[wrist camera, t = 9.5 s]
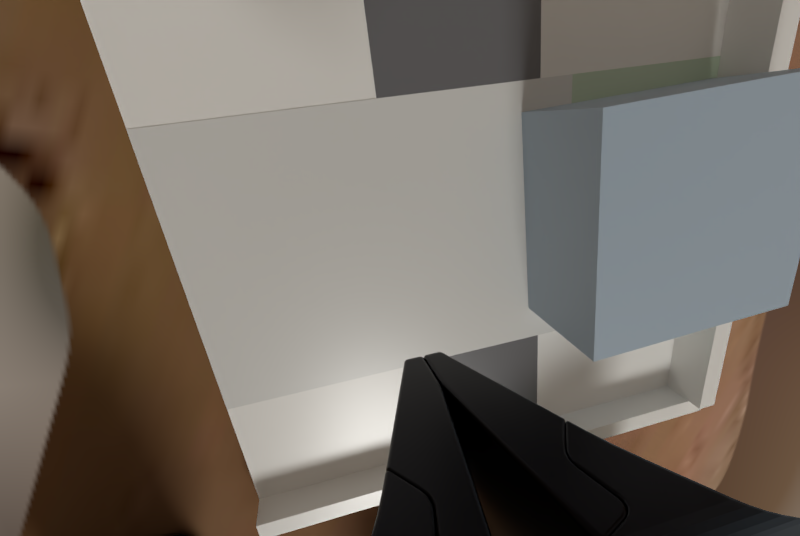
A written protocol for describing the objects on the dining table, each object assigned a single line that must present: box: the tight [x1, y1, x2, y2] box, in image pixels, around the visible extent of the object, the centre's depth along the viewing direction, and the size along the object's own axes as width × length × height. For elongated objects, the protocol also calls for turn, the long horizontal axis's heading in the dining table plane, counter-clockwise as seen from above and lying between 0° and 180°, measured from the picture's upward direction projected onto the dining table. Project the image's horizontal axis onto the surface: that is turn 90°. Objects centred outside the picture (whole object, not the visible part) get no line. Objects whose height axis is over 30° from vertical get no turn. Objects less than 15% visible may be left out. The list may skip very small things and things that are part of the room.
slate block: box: [521, 68, 800, 362], centre depth 17 cm, size 10×10×5 cm
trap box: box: [80, 0, 800, 536], centre depth 17 cm, size 26×26×3 cm
